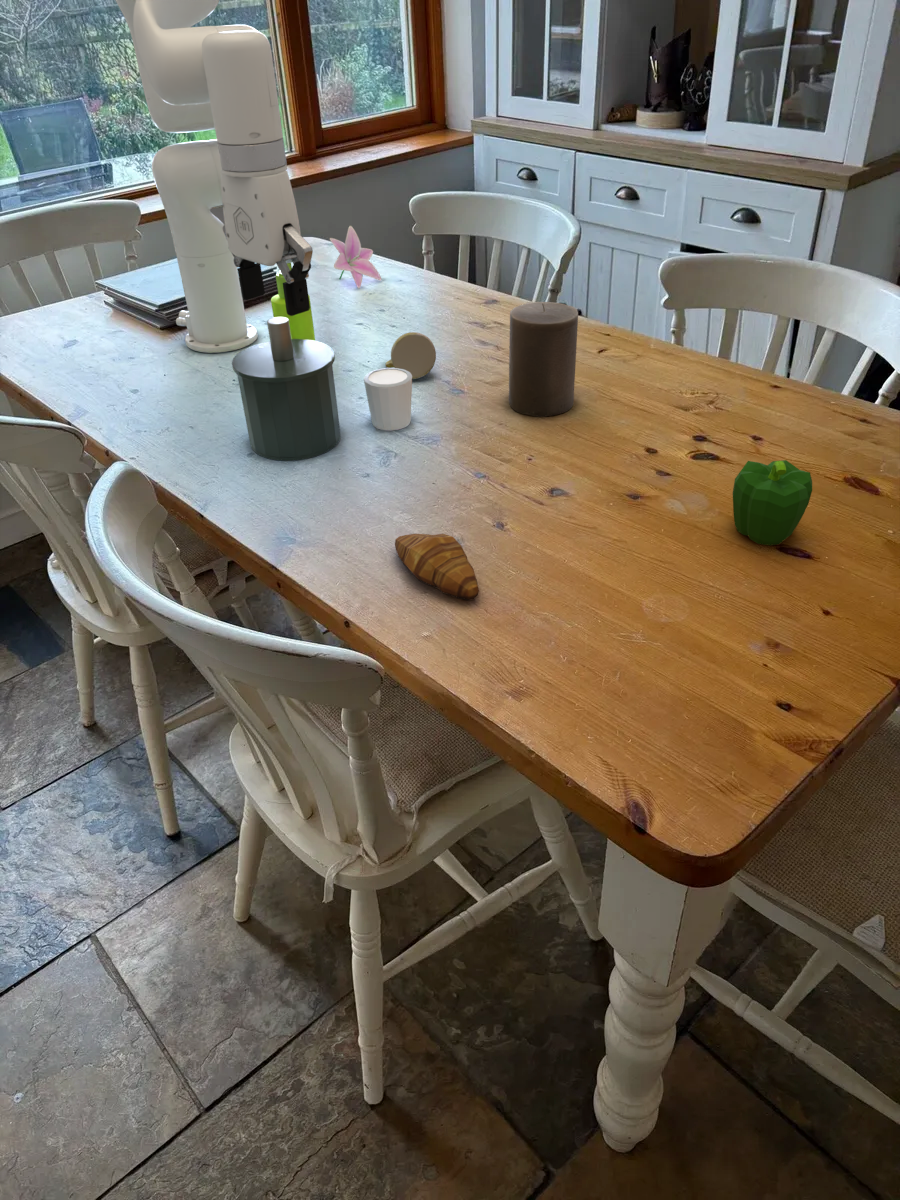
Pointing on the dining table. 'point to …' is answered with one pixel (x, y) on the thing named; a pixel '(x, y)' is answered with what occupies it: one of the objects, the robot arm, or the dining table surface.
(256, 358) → the lid
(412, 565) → the croissant
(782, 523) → the bell pepper
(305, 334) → the soap dispenser
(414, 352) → the mug
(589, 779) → the dining table surface
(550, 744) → the dining table surface
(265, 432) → the canister
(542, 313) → the pillar candle
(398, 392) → the white cup
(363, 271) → the lily
